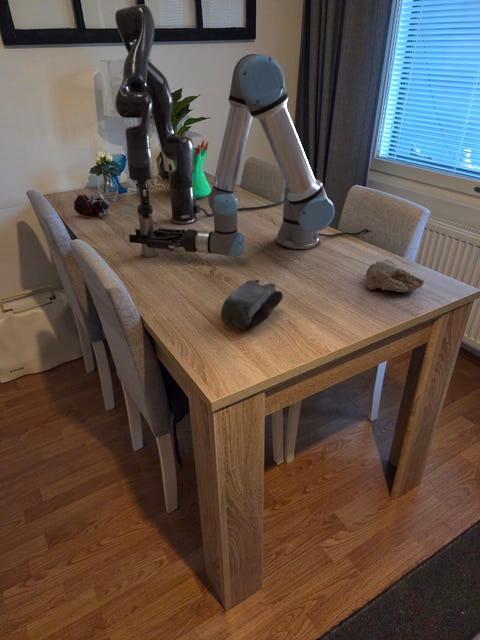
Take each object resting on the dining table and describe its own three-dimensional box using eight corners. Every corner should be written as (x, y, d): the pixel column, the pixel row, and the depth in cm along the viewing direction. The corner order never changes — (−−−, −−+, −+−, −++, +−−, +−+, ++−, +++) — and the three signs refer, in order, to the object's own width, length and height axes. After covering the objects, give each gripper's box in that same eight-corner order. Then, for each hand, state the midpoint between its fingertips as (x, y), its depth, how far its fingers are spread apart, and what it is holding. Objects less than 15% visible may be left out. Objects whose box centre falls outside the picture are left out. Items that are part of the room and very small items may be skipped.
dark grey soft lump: (254, 340, 110) (255, 313, 105) (215, 329, 114) (214, 302, 110) (284, 308, 123) (285, 283, 119) (248, 299, 128) (248, 274, 124)
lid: (154, 210, 149) (154, 204, 148) (150, 215, 145) (149, 209, 144) (140, 209, 149) (139, 203, 148) (135, 214, 145) (135, 208, 144)
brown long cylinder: (148, 258, 152) (144, 211, 144) (140, 254, 155) (135, 208, 146) (158, 254, 155) (154, 208, 147) (150, 250, 158) (145, 205, 149)
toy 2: (167, 190, 223) (163, 137, 210) (207, 188, 227) (205, 135, 214) (172, 202, 206) (167, 145, 193) (214, 199, 210) (213, 143, 197)
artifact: (384, 303, 127) (425, 296, 132) (391, 281, 123) (434, 275, 127) (349, 272, 141) (388, 267, 145) (355, 251, 136) (395, 247, 141)
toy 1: (101, 187, 180) (72, 186, 186) (93, 207, 178) (64, 205, 183) (117, 205, 191) (89, 203, 196) (109, 223, 188) (82, 221, 194)
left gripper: (126, 158, 144) (132, 210, 153) (129, 168, 132) (135, 223, 141) (149, 157, 145) (154, 208, 154) (154, 167, 134) (159, 222, 143)
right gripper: (190, 262, 143) (123, 255, 147) (205, 242, 158) (144, 236, 162) (189, 240, 139) (120, 234, 143) (204, 221, 154) (141, 216, 158)
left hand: (145, 215), depth 148 cm, fingers closed on lid, 5 cm apart
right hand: (133, 235), depth 153 cm, fingers closed on brown long cylinder, 4 cm apart
